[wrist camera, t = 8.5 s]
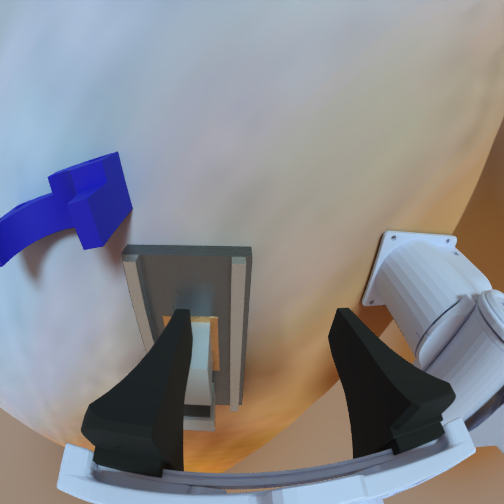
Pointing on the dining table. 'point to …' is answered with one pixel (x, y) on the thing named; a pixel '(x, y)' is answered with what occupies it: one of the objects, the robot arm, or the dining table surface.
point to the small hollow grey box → (200, 415)
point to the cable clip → (71, 207)
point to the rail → (196, 301)
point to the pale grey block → (200, 366)
